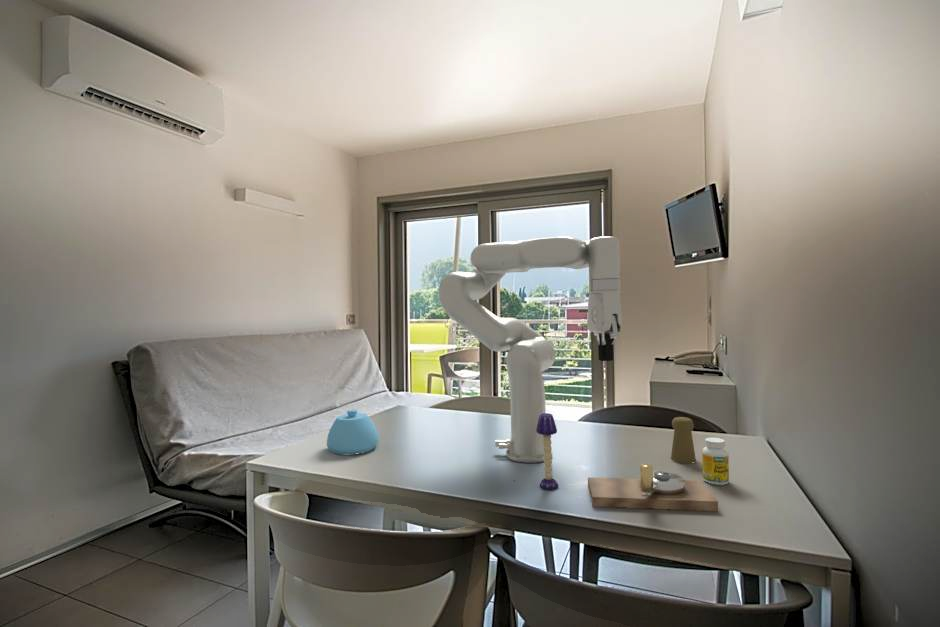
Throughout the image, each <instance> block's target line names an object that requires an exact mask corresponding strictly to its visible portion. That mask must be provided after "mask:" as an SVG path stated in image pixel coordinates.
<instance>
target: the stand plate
mask: <svg viewBox="0 0 940 627" xmlns="http://www.w3.org/2000/svg"><path fill="white" fill-rule="evenodd" d="M684 480H685V490H684V491H683V492H681V493H678V494H660V493H653V494H651V495H648V494H644V493H643V491H641V486H640V482H639V478H619V477H617V478H616V477H589V476H588V477H587V486H588V487H587V488H588V492H589V496H590V500H591V501H590V502H591V503H592V508H595V507H596V508H616V507H626V508H625V509H642V508H652V509H651V510H667V509H671V510H673V509H674V510H673V511H693V510H696V512H697V511H699V512H703V511H702V510H710V511H709V512H719V501H718V500H717V499H716V497H715V496H714V495H713V494H712V492H710V490H709V489H708V488H707V486H705V484H704V483H702V481H701V480H691V479H690V480H687V479H684ZM653 508H654V509H653ZM700 510H701V511H700ZM693 512H694V511H693Z"/></svg>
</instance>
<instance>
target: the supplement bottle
mask: <svg viewBox="0 0 940 627" xmlns="http://www.w3.org/2000/svg"><path fill="white" fill-rule="evenodd" d="M704 442H705V443H704V445H705V446H704V447H703V448H702V456H701V457H702V480H703V481H704V482H705V481H706V483H707V482H708V484H710V483H711V484H710V485H713V484H716V485H715V486H725V484H726V485H728V483H729V482H730V479H729V478H730V476H729V475H730V472H729V471H730V470H729V469H730V467H729V464H730V462H729V461H730V460H729V459H730V458H729V452H728V450H727V449H726V448H725V447H726V441H725V440H724V439H723V438H719V437H706V438H705V440H704Z"/></svg>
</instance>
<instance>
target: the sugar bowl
mask: <svg viewBox="0 0 940 627" xmlns="http://www.w3.org/2000/svg"><path fill="white" fill-rule="evenodd" d="M346 412H347V413H345V414H341V415H339V416H337V417H336V419H335V420H334V421H333V423H332V425H331V427H330V429H329V431H328V434H327V440H326V447H327V448H328V450H329V451H330V452H331V453H333V454H334V453H337V454H356V453H362V452H366V453H368V452H367V451H369V452H371V451H373V450H374V449H375V448H376V446H377V445H378V443H379V440H380V438H379V432H378V430H377V427H376V425H375V424H374V422H373V421H372V419H371V418H370V417H369V416H368V415H367V413H361V412H360V413H359V412H358V410H357V409H348V410H347V411H346ZM372 449H373V450H372ZM370 450H371V451H370ZM337 454H336V455H337ZM362 454H363V453H362Z"/></svg>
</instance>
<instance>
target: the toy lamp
mask: <svg viewBox="0 0 940 627" xmlns="http://www.w3.org/2000/svg"><path fill="white" fill-rule="evenodd" d="M536 432H537V433H538V434H541V435H543V438H544V441H543V443H544V452H545V453H544V458H545V460H544V461H543V463H544V468H543V469H544V478H543V479H541V480H540V482H539V488H540V489H541V488H542V490H543V491H555V490H558V489H559V484H558V481H557V480H556V479H555V478H553V472H552V471H553V466H552V465H553V461H552V458H553V453H552V454H551V451H552V450H553V449H552V435H555V434H557V432H558V428H557V425H556V421H555V419H554V415H553V414H552V413H550V412H549V413H548V412H546V413H543V414H540V416H539V420H538V424H537V429H536Z"/></svg>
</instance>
